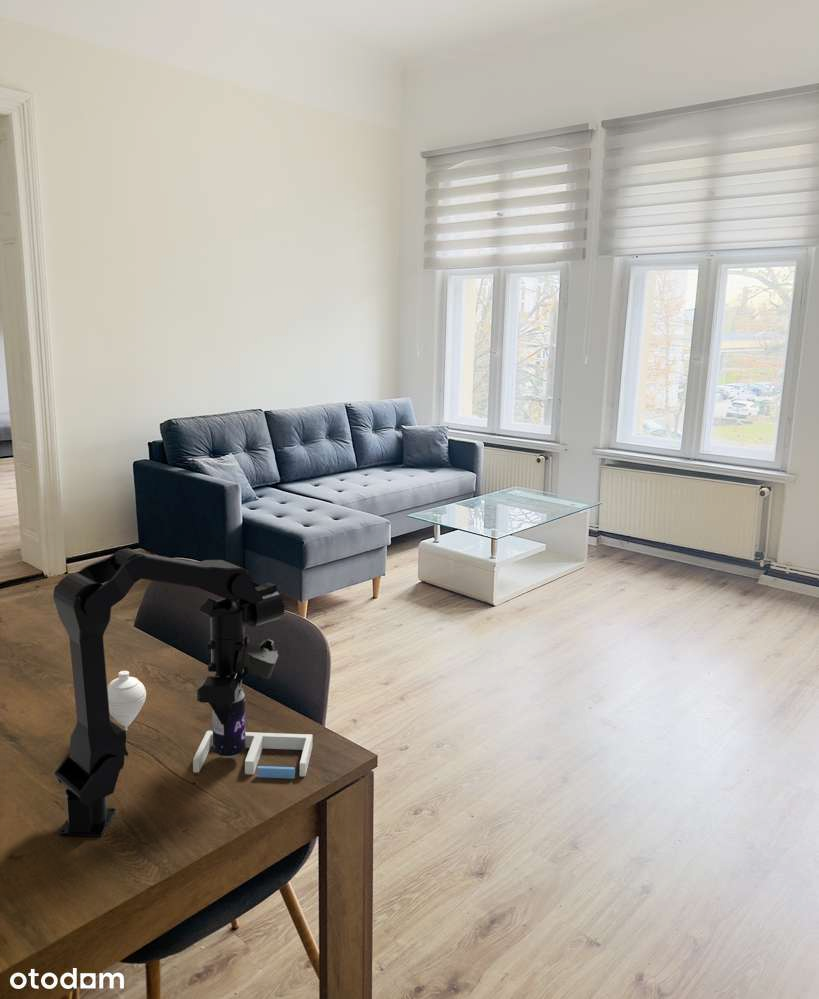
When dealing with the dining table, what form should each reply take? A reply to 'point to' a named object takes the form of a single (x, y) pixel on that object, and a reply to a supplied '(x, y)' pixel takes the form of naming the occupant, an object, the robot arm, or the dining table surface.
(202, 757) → the white open frame
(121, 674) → the spinning top
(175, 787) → the dining table surface
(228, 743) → the beverage can
